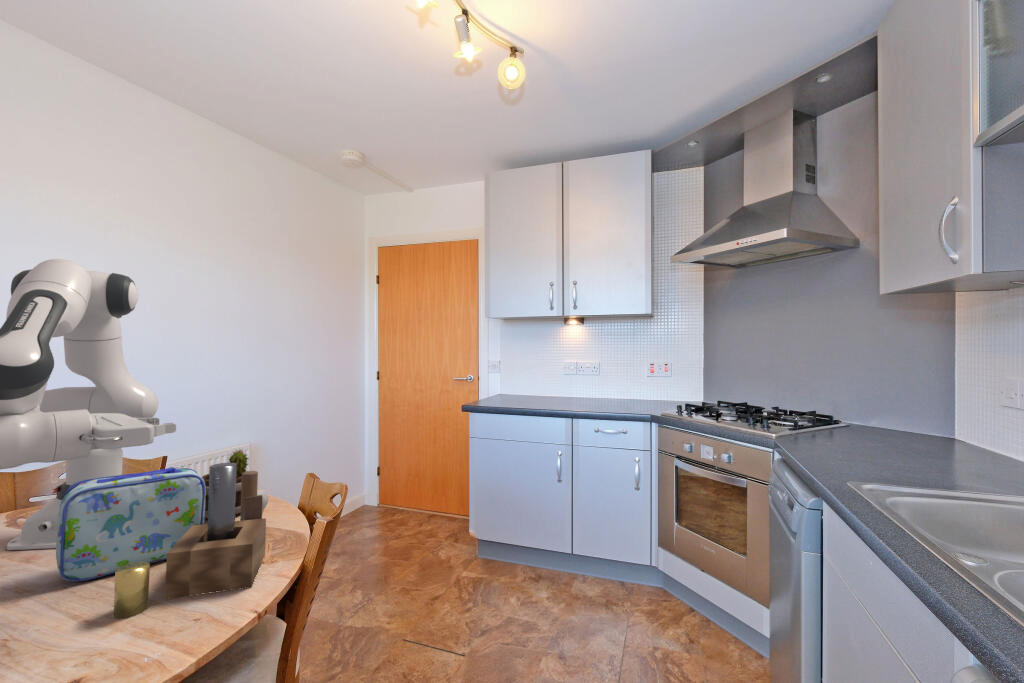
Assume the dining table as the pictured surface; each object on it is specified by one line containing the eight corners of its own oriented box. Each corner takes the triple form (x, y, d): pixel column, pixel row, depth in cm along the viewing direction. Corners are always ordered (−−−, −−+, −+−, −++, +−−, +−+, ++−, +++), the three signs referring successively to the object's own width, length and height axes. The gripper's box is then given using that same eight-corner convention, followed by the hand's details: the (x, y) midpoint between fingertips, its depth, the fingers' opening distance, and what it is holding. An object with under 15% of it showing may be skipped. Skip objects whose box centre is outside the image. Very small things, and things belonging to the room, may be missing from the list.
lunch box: (197, 539, 116) (199, 458, 117) (208, 551, 109) (210, 465, 110) (54, 574, 97) (58, 477, 98) (55, 592, 90) (60, 488, 91)
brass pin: (107, 620, 81) (109, 576, 81) (121, 605, 86) (123, 563, 86) (141, 615, 83) (143, 572, 83) (152, 601, 87) (154, 560, 88)
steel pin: (202, 583, 95) (206, 469, 95) (210, 572, 99) (213, 463, 100) (229, 579, 96) (233, 467, 97) (235, 568, 101) (238, 462, 102)
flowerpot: (190, 528, 123) (192, 455, 124) (197, 511, 136) (199, 445, 137) (251, 519, 130) (253, 450, 131) (252, 503, 144) (254, 441, 144)
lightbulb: (249, 525, 126) (250, 486, 126) (271, 525, 126) (272, 486, 126) (237, 534, 120) (238, 493, 120) (261, 534, 120) (262, 492, 120)
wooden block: (244, 557, 107) (246, 481, 107) (238, 541, 115) (240, 471, 116) (261, 553, 109) (263, 479, 109) (254, 538, 117) (256, 469, 118)
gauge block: (165, 599, 88) (166, 553, 88) (191, 565, 102) (192, 525, 103) (251, 587, 93) (252, 543, 93) (264, 556, 107) (266, 518, 108)
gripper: (89, 424, 75) (186, 414, 86) (62, 411, 87) (150, 404, 98) (88, 461, 75) (185, 447, 86) (61, 443, 87) (149, 433, 98)
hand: (166, 424), depth 92 cm, fingers open, 8 cm apart
